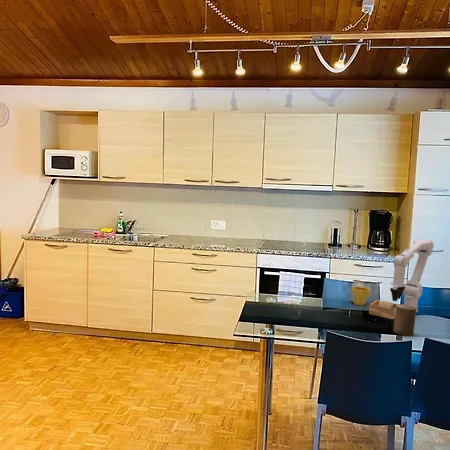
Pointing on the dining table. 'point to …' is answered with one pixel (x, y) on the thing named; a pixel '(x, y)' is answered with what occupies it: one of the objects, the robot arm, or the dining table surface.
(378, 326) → the dining table surface
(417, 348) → the dining table surface
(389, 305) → the small crate
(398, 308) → the pillar candle
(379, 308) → the big crate
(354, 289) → the plant pot
